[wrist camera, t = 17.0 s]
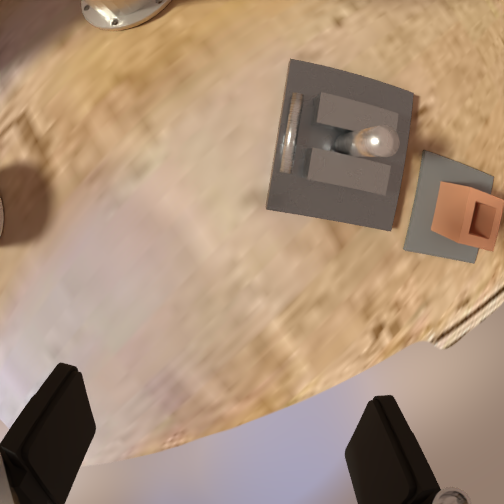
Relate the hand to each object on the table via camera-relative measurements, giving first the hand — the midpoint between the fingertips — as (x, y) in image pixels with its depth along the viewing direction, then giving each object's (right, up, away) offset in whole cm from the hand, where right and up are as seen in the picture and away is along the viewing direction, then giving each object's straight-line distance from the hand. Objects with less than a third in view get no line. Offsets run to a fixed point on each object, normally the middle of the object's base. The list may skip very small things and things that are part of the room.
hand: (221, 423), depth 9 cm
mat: (+26, +10, +25) cm, 37 cm away
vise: (+11, +17, +23) cm, 30 cm away
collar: (+26, +10, +24) cm, 37 cm away
